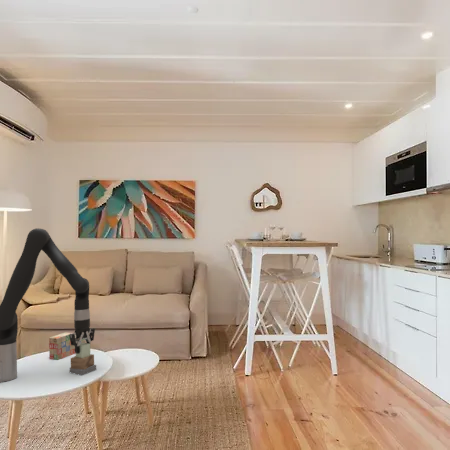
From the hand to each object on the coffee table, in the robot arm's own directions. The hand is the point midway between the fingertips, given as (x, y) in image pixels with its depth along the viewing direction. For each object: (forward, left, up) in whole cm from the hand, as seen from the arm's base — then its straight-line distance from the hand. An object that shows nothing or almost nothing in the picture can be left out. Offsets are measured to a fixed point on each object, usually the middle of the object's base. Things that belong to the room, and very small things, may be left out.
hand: (82, 351), depth 208 cm
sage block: (0, 0, -2) cm, 2 cm away
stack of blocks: (+16, +33, -10) cm, 38 cm away
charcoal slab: (0, 0, -10) cm, 10 cm away
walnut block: (0, 0, -7) cm, 7 cm away
